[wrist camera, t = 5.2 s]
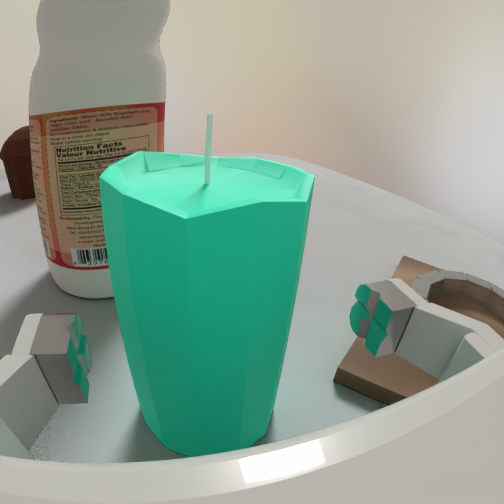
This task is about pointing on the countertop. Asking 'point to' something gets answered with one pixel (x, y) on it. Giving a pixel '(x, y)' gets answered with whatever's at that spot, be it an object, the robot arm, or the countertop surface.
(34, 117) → the fruit juice
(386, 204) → the countertop surface
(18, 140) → the muffin
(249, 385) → the candle
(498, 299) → the ring collar
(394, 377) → the ring board
